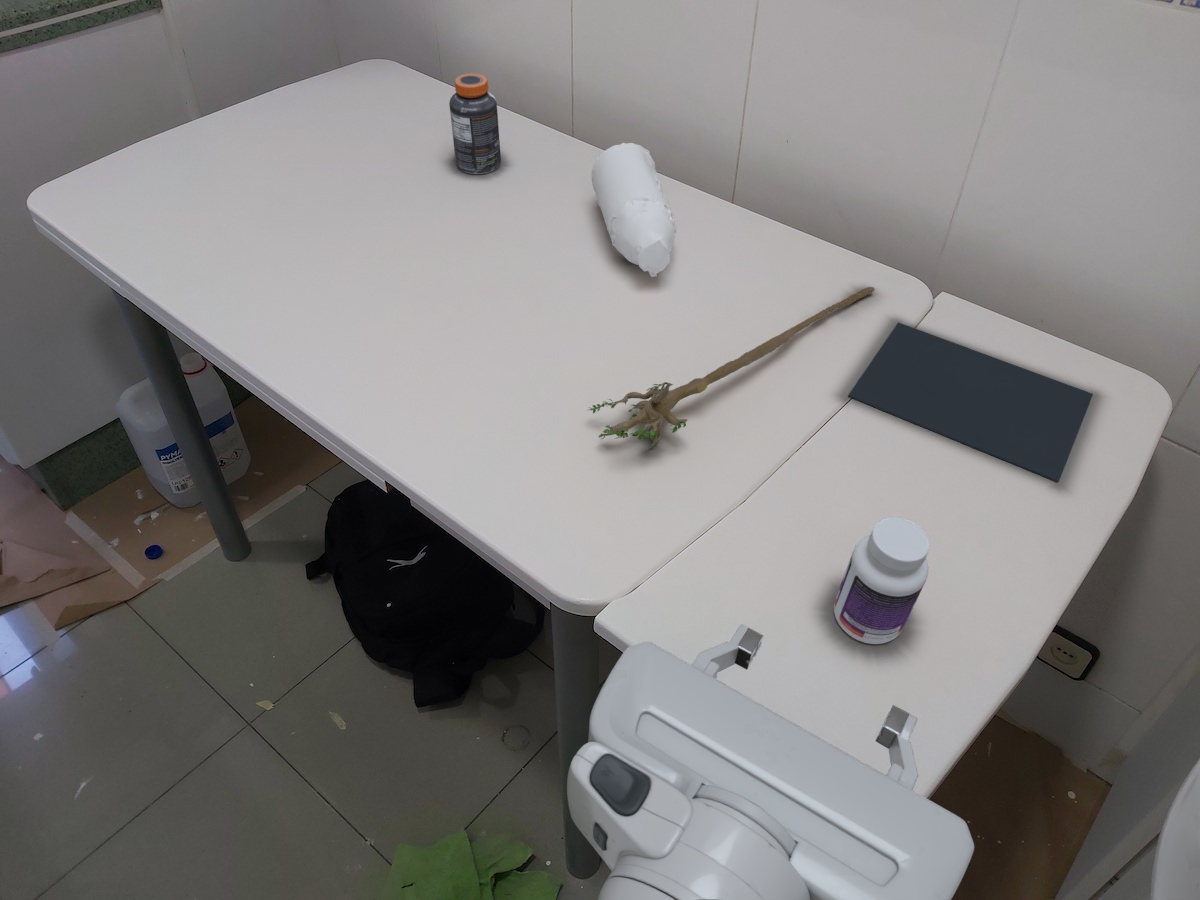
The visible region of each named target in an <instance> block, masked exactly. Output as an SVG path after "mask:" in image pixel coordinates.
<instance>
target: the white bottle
mask: <svg viewBox="0 0 1200 900" xmlns="http://www.w3.org/2000/svg"><path fill="white" fill-rule="evenodd" d="M650 152H651V151H650V150H648V149H647V148H644V147H643V145H641V144H637V143H634V142H629V143H625V142H624V141H623V142H622V143H620V144H614V145H612V146H610V147H609V148H607V149H605V150H604V151H602V153H601V154H599V156H598V157H597V159H596V160H594V162H593V164H592V167H591V184H592V189H593V191H594V194H595V197H596V200H597V203H598V205H599V208H600V210H601V214H602V216H603V219H604V223H605V226H606V230H607V232H608V235H609V237H610V240H611V243H612V246H613V247H614V248H615V249H616V250H617V251H618V253H620V254H621V255H622V256H623V257H624V258H625V259H626V260H627V261H628V262H630V263H631V264H634V265H637V266H638V267H639V268H640V269H641V270H642V271H643V272H648V274H649V275H650V277H651V278H655V277H657V275H658V274H659V273H661V272H663V271H664V270H665V269H666V268H667V267H668V265H669V264H670V262H671V260H672V258H671V257H672V256H671V251H672V249H673V247H674V243H675V238H676V233H677V226H678V225H677V224H678V223H677V222H676V221H675V220H676V219H675V214H674V212H673V211H672V210H673V209H672V208H671V207H670V203H669V202H668V200H667V198H666V197H665V195H664V192H663V188H662V187H663V186H662V180H661V179H660V177H659V174H658V173H657V172H658V170H656V162H655V161H654V159H653V157H652V156H651V154H650Z"/></svg>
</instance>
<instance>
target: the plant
mask: <svg viewBox="0 0 1200 900" xmlns="http://www.w3.org/2000/svg"><path fill="white" fill-rule="evenodd" d="M875 289H876V288H875V287H873V286H868V287H867V286H866V287H865V288H862V289H861V290H859V291H857V292H856V293H853V294H851V295H850V296H848V297H846V298H844V299H842V300H841V301H839V302H836V303H833V304H831V306H830V305H829V306H828V307H826V308H825V309H822V310H821V311H819V312H817V313H816V314H814V315H812V316H810V317H808V318H807V319H805V320H803V321H800V323H798V324H796V325H794V326H792V327H790V328H789V329H787V330H785V331H784V332H782V333H780V334H778V335H775V336H774V337H772V338H770V339H768V340H766V341H765V342H763V343H761V344H759V345H758V346H756V347H755V348H753V349H751V350H749V351H746V352H745V353H742V355H741V356H739V357H737V358H735V359H734V360H730V361H728V362H726V363H724V364H723V365H721V366H719V367H718V368H716V369H715V370H713V371H711V372H709V373H707V374H706V375H705V376H703V377H697V378H693V379H691V381H689V382H687V383H686V384H683V385H680V386H678V387H675V388H674V389H671V390H670V387H671V386H673V385H674V384H673V383H671V382H666V381H664V382H661V383H654V384H652V385H651V386H652V387H648V388H647V389H646V393H641V392H638V391H631V392H628V393H626V394H625V396H624V397H623V398H621V399H619V400H616V401H613V400H612V399H611V398H608V400H609V401H610V402H608V401H603V402H602V404H599V403H597V404H596V405H595V404H593V405H592V407H593V408H592V407H588V409H587V410H585V411H586V412H587V411H592V415H594V414H596V413H597V412H598V411H600V410H601V408H604V407H605V406H607V407H609V406H610V409H614V408H615V406H617V404H620V403H621V404H622V403H623V404H624V405H627V402H629V399H630V400H631V399H640V401H639V402H637V403H636V404H630V405H629V406H630V407H631V406H632V408H630V409H629V410H628V412H629V413H631V412H632V411H633V410H635V409H636V410H637V409H638V410H640V411H639V413H638V414H637V413H634V414H633V415H631V417H629V419H628V420H625V421H623V422H620V423H617V424H616V425H613V426H610V424H607V425H605V427H604V428H605V429H604V430H603V431H602V433H600V434H599V435H598V437H597V438H600V440H603V439H604V438H606V437H607V436H613V435H614V436H615V435H616V436H617V437H615V438H613V439H614V440H616V439H625V438H628V437H629V438H630V437H634V438H636V437H637V438H636V439H637V440H647V439H648V438H650V440H651V441H652V442H651V444H650V445H649V446H648V447H647V448H646V449H645V450H646V451H647V450H648V449H652V450H653V449H654V448H655V446H656V444H657V442H658V440H659V439H660V438H661V427H662V421H663V419H664V420H666V422H667V423H669V424H670V427H671V426H674V427H673V428H671V429H669V431H670V432H671V431H672V433H671V434H674V433H676V432H677V431H678V430H680V429H681V428H682V426H683V428H685V427H686V426H687V422H688V419H687V418H683V419H682V418H681V419H680V418H677V417H676V416H675V414H673V412H672V410H673V409H674V408H675V407H676V405H677V404H678V403H679V402H680V401H681V400H683V399H685V398H688V397H689V396H693V395H697V394H700V393H703V392H704V391H706V389H707V388H708V386H709V385H711V384H713V383H715V382H718V381H720V380H721V379H724V378H725V377H727V376H729V375H731V374H733V373H736V372H738V371H739V370H740V369H742V368H743V367H747V366H749V365H751V364H752V363H754V362H756V361H758V360H761V359H762V358H764V357H765V356H767V355H768V354H772V353H773V352H774V351H775V350H777V349H778V348H780V347H781V346H783V345H785V344H786V343H787V342H788V341H789V340H791V339H792V338H794V336H795V335H796V334H798V333H799V332H801V331H803V330H804V329H806V328H809V326H811V324H813V323H816V322H818V321H819V320H821V319H824V318H826V316H828V314H829V313H831V312H833V311H835V310H837V309H842V308H843V307H846V306H849V305H851V304H853V303H854V302H856V301H858V300H860V299H862V298H864V297H867V296H868V295H870V294H872V293H873V292H875ZM660 387H661V388H660ZM641 423H645V424H644V425H643V427H642V426H641V427H639V428H638V429H637V431H634V432H632V433H630V434H629V433H628V432H629V430H631V429H632V428H635V426H637V425H639V424H641ZM649 429H650V431H647V430H649ZM644 431H645V432H644ZM629 435H630V436H629Z"/></svg>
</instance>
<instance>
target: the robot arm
mask: <svg viewBox="0 0 1200 900" xmlns="http://www.w3.org/2000/svg"><path fill="white" fill-rule="evenodd" d="M763 640H764V635H763V634H762V633H760V632H758V631H756V630H754V629H753V628H750V627H749V626H747V625H745V624H743V623H741V624H739V626H738V628H737V629H736V631H735V633H734V634H733V636H732V637H731V638H730V640H729V641H724V642H722V643H719V644H718V645H715V646H713V647H709V648H708V649H705V650H703V651H701V652H699V653H698V654H697V656H696V657H695V659H694V660H693V662H692V664H691V663H689V662H687V661H686V660H684V659H682V658H680V657H678V656H677V655H675V654H673V653H672V652H669V651H668V650H666V649H664V648H662V647H661V646H659V645H657V644H656V643H653V642H652V641H642V642H639V643H636V644H633V645H630V646H628V647H627V648H625V650H624V652H622V654H621V656H620V657H619V658H618V660H617V661H616V663H615V665H614V666H613V668H612V669H611V671H610V673H609V674H608V676H607V677H606V680H605V681H604V683H603V685H602V687H601V689H600V691H599V693H598V695H597V697H596V698H595V702H594V703H593V706H592V708H591V712H590V715H589V724H588V736H587V737H588V738H587V743H584V744H583V745H582V746H581V747H580V748H579V749H578V750H577V752H576V753H575V754H574V755H573V758H572V759H571V761H570V765H569V768H568V772H567V779H566V781H567V782H566V795H567V804H568V809H569V815H570V817H571V820H572V822H573V823H574V824H575V826H576V827H577V829H578V830H579V831H580V832H581V834H582V835H583V836H584V838H585V839H586V841H588V843H589V844H590V845H591V847H592V848H593V849H594V850H595V852H596V853H597V854H598V855H599V857H600V858H601V859H602V861H603V862H604V863H605V864H606V865H607V867H608V869H609V870H610V874H609V875H608V877H607V878H606V880H605V881H604V883H603V885H602V887H601V889H600V891H599V895H598V897H597V900H952V899H953V897H954V895H955V894H956V891H957V890H958V888H959V886H960V884H961V882H962V879H963V878H964V876H965V873H966V871H967V869H968V867H969V864H970V862H971V860H972V856H973V854H974V852H975V843H974V839H973V837H972V835H971V832H970V829H969V826H968V824H967V822H966V821H965V820H964V819H963V818H962V817H960V816H958V815H957V814H956V813H953V812H952V811H950V810H948V809H946V808H944V807H943V806H941V805H939V804H937V803H935V802H934V801H932V800H930V799H928V798H927V797H925V796H923V795H921V794H919V793H918V792H916V791H915V790H914V788H915V786H916V783H917V781H918V778H919V772H918V767H917V763H916V758H915V755H914V754H915V753H914V749H913V746H912V742H911V741H910V738H911V736H912V734H913V731H914V729H915V727H916V725H917V722H918V720H919V718H918V717H917V716H915V715H913V714H911V713H910V712H908V711H906V710H904V709H902V708H900V707H898V706H896V705H894V704H892V705H891V707H890V709H889V711H888V713H887V715H886V717H885V719H884V721H883V723H882V726H881V728H880V730H879V732H878V733H877V736H876V739H875V742H876V743H878V744H879V745H881V746H883V747H885V748H887V750H888V755H889V763H890V767H889V769H888V770H887V772H886V773H882V772H881V771H879V770H877V769H876V768H874V767H872V766H871V765H868V764H867V763H865V762H864V761H861V760H860V759H858V758H856V757H854V756H852V755H851V754H849V753H847V752H846V751H844V750H842V749H840V748H839V747H837V746H835V745H833V744H832V743H829V742H828V741H826V740H825V739H823V738H821V737H819V736H818V735H816V734H814V733H813V732H811V731H809V730H807V729H805V728H803V727H802V726H800V725H798V724H796V723H795V722H793V721H791V720H789V719H787V718H786V717H784V716H783V715H780V714H779V713H778V712H776V711H773V709H770V708H768V707H767V706H765V705H763V704H761V703H760V702H758V701H755V700H754V699H752V698H751V697H749V696H747V695H745V694H743V693H742V692H740V691H738V690H736V689H735V688H733V687H731V686H730V685H727V684H726V683H725V682H722V681H720V680H719V679H717V677H718V674H719V673H720V672H722V671H724V670H727V669H728V668H730V667H732V666H734V665H737V666H739V667H741V668H742V669H744V670H747V671H748V669H749V667H750V666H751V664H752V662H753V661H754V658H755V657H756V656H757V654H758V653H759V651H760V649H761V647H762V641H763ZM1156 843H1157V844H1156V848H1155V853H1154V858H1153V862H1152V867H1151V877H1150V878H1151V879H1150V891H1149V893H1150V894H1149V900H1200V757H1198V759H1197V760H1196V762H1195V764H1194V765H1193V766H1192V768H1191V769H1190V771H1189V772H1188V774H1187V775H1186V777H1185V779H1184V780H1183V781H1182V783H1181V786H1180V787H1179V789H1178V790H1177V793H1176V795H1175V796H1174V798H1173V800H1172V802H1171V804H1170V806H1169V808H1168V810H1167V813H1166V816H1165V818H1164V821H1163V824H1162V827H1161V830H1160V832H1159V835H1158V838H1157V842H1156Z"/></svg>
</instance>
